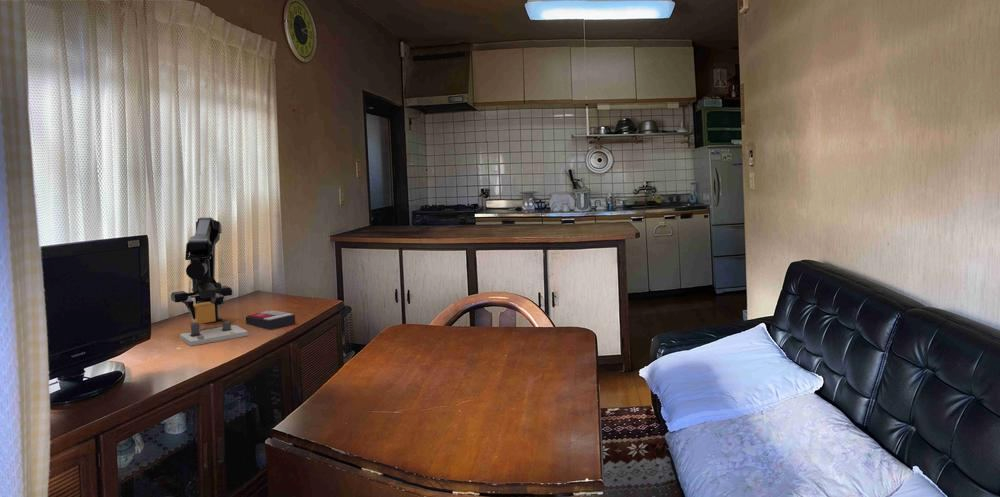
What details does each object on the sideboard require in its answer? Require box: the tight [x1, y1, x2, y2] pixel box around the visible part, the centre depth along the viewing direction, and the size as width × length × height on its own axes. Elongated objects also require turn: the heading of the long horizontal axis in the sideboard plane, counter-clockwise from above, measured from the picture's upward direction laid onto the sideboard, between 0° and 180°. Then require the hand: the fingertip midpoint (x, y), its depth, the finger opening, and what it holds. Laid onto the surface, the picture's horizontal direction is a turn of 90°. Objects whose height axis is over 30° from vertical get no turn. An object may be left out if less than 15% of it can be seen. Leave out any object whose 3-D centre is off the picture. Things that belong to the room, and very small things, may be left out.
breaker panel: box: [179, 324, 249, 347], centre depth 196 cm, size 12×18×2 cm, turn 134°
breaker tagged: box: [221, 320, 232, 331], centre depth 200 cm, size 3×3×4 cm
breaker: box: [190, 322, 201, 336], centre depth 193 cm, size 3×3×4 cm
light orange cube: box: [191, 302, 217, 325], centre depth 205 cm, size 6×6×6 cm
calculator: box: [245, 309, 296, 331], centre depth 215 cm, size 11×4×15 cm
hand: (203, 317), depth 205 cm, fingers closed on light orange cube, 6 cm apart
